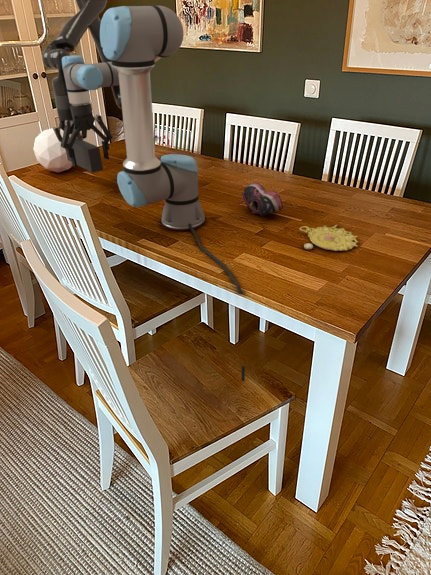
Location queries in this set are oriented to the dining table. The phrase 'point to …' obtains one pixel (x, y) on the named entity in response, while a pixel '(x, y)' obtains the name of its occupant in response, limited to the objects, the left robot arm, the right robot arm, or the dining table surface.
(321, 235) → the decorative object
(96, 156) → the bar
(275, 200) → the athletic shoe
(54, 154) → the sphere
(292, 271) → the dining table surface
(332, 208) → the dining table surface
